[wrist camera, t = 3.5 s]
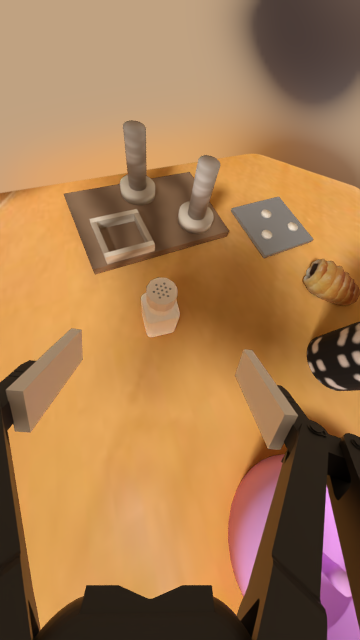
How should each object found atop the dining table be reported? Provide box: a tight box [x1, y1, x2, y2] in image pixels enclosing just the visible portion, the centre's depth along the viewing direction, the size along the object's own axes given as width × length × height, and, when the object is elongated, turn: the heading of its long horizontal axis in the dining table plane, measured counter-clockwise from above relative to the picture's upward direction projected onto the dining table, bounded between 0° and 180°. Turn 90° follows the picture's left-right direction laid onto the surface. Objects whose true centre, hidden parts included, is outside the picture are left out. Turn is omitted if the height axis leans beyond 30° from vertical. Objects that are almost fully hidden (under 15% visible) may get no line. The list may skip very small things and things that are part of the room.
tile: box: [231, 197, 314, 258], centre depth 39 cm, size 12×12×1 cm
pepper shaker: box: [141, 277, 180, 337], centre depth 24 cm, size 4×4×10 cm
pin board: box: [64, 121, 229, 274], centre depth 31 cm, size 24×16×11 cm, turn 115°
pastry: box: [303, 259, 360, 305], centre depth 34 cm, size 9×7×4 cm
